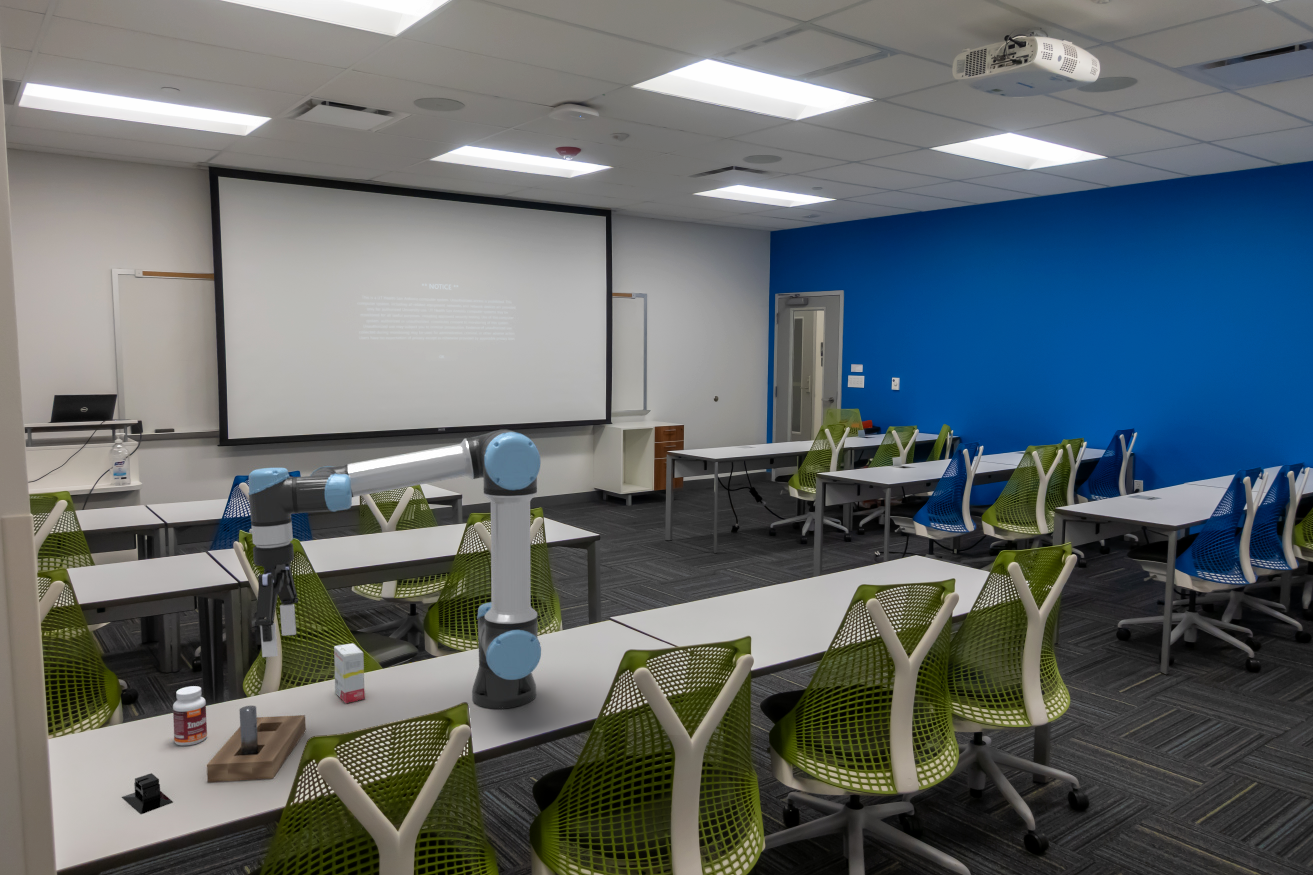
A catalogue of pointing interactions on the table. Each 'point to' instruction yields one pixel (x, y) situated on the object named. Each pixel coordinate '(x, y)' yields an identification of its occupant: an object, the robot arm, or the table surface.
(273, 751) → the socket block
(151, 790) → the black stepped mount
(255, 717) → the pin
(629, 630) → the table surface
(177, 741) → the pill bottle
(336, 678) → the ink box
